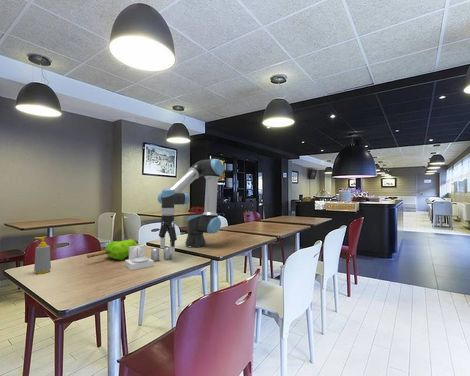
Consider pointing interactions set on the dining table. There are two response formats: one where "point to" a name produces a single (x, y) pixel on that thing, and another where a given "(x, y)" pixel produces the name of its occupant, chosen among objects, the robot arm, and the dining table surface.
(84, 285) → the dining table surface
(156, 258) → the spacer
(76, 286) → the dining table surface
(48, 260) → the soap bottle
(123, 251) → the decorative tree
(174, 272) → the dining table surface
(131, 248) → the light grey square stand
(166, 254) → the spacer
